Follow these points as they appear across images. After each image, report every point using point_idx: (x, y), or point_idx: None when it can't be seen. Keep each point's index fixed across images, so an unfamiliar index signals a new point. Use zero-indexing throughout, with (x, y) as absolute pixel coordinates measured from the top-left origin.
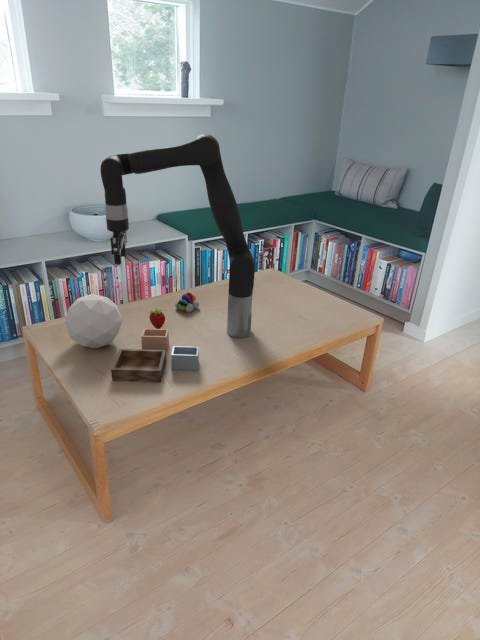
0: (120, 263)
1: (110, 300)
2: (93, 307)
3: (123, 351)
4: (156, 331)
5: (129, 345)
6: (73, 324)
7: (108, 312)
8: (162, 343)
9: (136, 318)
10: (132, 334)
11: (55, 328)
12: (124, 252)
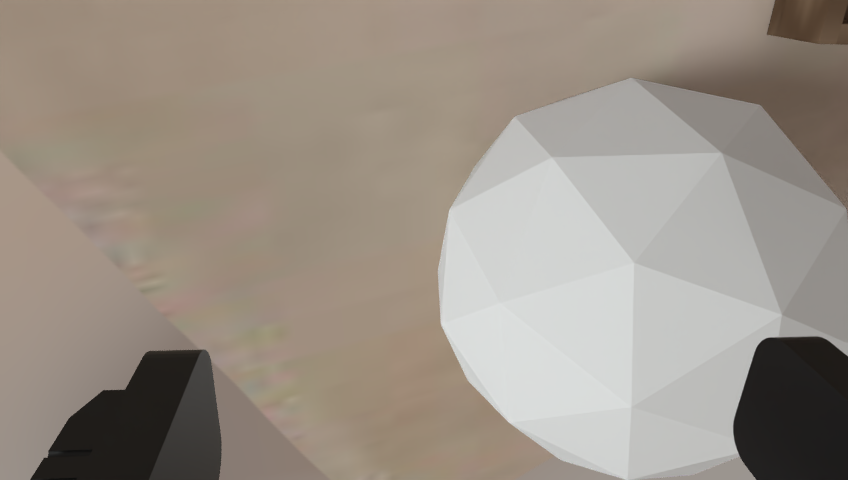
0: (828, 349)
1: (633, 228)
2: (839, 328)
3: (839, 12)
4: None
5: (606, 7)
6: None
7: (809, 194)
8: None
9: (213, 21)
10: (460, 11)
11: (400, 437)
12: (181, 444)
